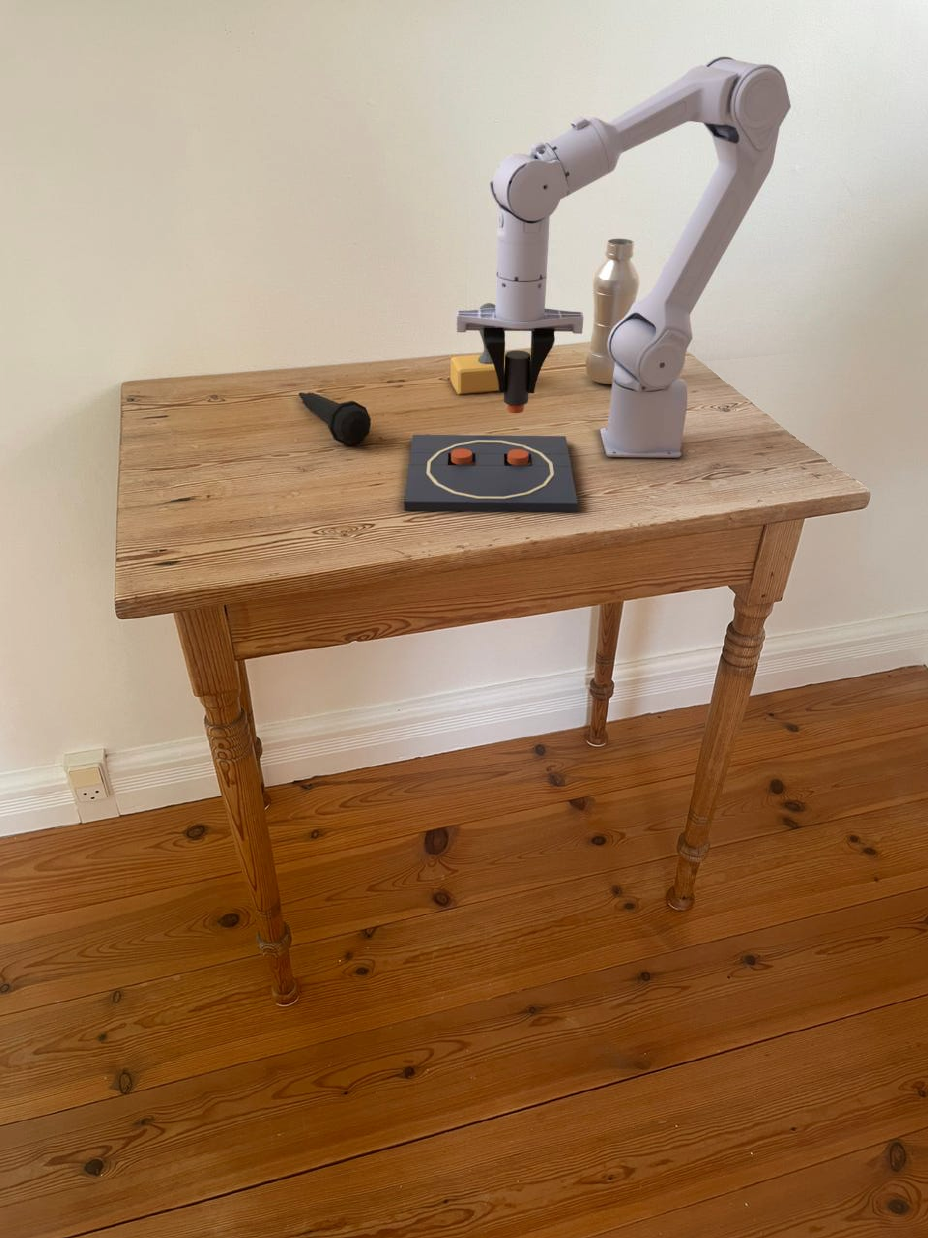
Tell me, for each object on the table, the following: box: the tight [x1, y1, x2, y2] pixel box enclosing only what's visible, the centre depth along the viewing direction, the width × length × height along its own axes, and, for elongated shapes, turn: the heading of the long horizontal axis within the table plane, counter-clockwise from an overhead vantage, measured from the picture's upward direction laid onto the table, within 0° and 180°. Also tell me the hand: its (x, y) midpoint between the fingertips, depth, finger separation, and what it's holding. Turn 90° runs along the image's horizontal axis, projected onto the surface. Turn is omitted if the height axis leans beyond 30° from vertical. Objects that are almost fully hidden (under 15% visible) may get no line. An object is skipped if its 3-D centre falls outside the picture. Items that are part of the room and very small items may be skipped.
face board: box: [403, 434, 579, 513], centre depth 113 cm, size 20×18×1 cm
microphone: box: [298, 391, 372, 447], centre depth 125 cm, size 6×6×20 cm
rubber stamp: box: [450, 302, 507, 395], centre depth 134 cm, size 10×6×12 cm, turn 103°
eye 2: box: [507, 449, 529, 466], centre depth 114 cm, size 3×3×1 cm
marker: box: [503, 349, 531, 414], centre depth 111 cm, size 3×3×7 cm
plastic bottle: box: [585, 238, 641, 385], centre depth 133 cm, size 6×7×20 cm
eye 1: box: [450, 449, 472, 466], centre depth 114 cm, size 3×3×1 cm
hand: (516, 389), depth 112 cm, fingers closed on marker, 3 cm apart
